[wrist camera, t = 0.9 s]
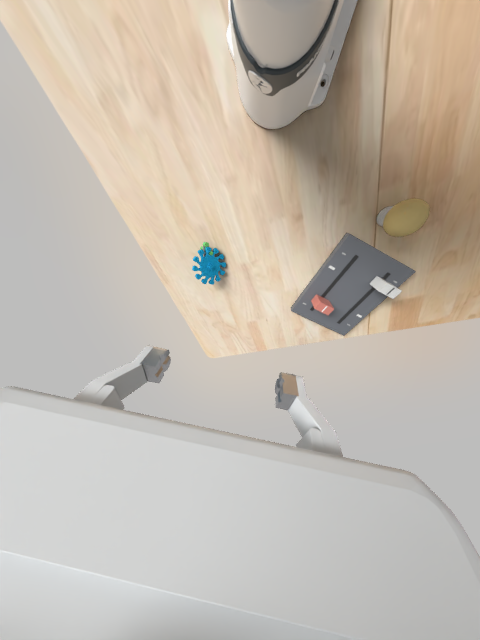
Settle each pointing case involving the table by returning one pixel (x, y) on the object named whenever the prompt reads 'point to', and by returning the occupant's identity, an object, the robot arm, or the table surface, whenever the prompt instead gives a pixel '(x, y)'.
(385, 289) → the grey fader
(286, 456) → the robot arm
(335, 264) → the console
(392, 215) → the light bulb
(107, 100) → the table surface
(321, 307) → the red fader
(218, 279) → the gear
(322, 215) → the table surface
